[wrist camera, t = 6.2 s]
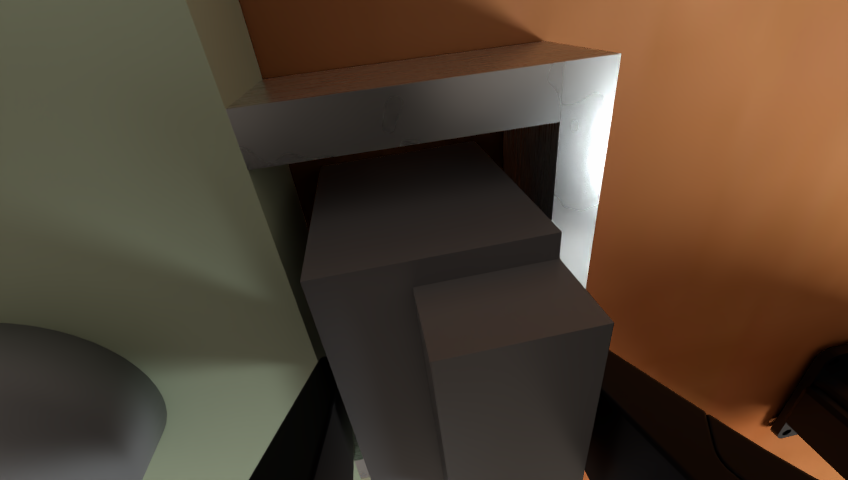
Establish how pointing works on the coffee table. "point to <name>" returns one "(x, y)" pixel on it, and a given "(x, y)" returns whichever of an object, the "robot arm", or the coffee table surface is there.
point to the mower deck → (141, 248)
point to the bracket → (455, 123)
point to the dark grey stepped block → (452, 320)
